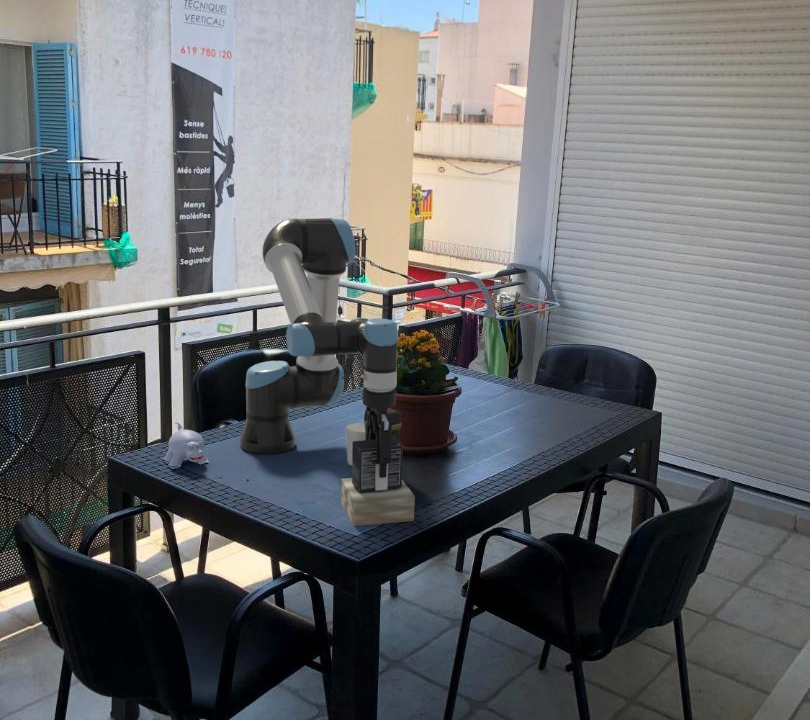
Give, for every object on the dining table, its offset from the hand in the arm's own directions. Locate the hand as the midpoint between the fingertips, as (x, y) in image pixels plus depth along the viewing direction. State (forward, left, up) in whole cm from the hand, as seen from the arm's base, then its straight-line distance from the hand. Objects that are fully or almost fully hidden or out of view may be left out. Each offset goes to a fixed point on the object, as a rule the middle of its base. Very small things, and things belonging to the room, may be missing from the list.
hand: (377, 483), depth 215 cm
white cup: (-33, +4, -7) cm, 34 cm away
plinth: (0, 0, -7) cm, 7 cm away
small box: (0, 0, -1) cm, 1 cm away
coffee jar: (-22, +7, -7) cm, 24 cm away
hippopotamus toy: (-41, -40, -7) cm, 58 cm away
